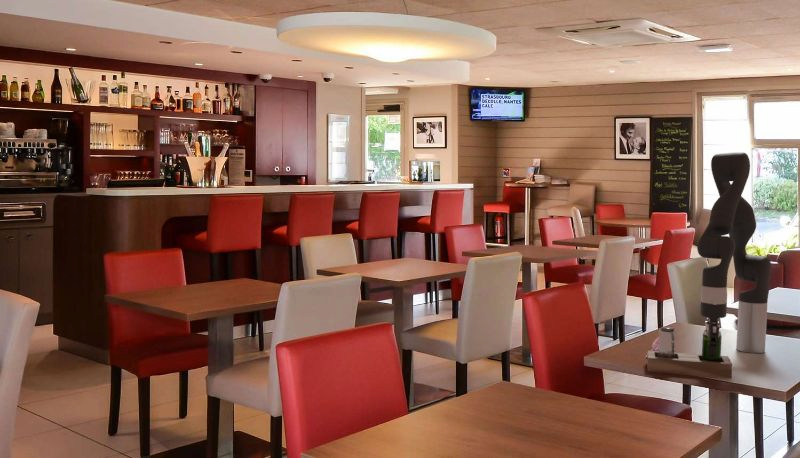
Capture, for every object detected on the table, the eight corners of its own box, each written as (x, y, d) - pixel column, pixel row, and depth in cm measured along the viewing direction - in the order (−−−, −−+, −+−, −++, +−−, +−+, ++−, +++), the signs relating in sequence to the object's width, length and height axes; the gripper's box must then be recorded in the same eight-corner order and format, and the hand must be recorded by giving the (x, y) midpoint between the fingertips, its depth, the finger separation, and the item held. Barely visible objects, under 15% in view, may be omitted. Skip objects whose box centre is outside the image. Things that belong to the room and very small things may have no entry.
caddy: (647, 365, 262) (647, 350, 262) (727, 371, 255) (728, 356, 255) (647, 373, 251) (648, 358, 251) (731, 380, 245) (732, 364, 245)
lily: (658, 356, 280) (645, 331, 279) (688, 348, 271) (674, 323, 271) (643, 372, 271) (629, 347, 271) (674, 365, 263) (659, 339, 263)
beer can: (712, 372, 248) (714, 333, 247) (697, 369, 252) (699, 330, 251) (723, 370, 251) (725, 331, 250) (708, 366, 255) (710, 328, 254)
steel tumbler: (657, 366, 258) (659, 326, 257) (673, 367, 257) (675, 327, 256) (657, 370, 254) (659, 329, 252) (674, 371, 252) (676, 330, 251)
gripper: (698, 296, 258) (696, 349, 259) (702, 303, 244) (699, 360, 245) (724, 297, 256) (721, 351, 257) (729, 305, 242) (726, 362, 243)
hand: (711, 355), depth 251 cm, fingers closed on beer can, 5 cm apart
